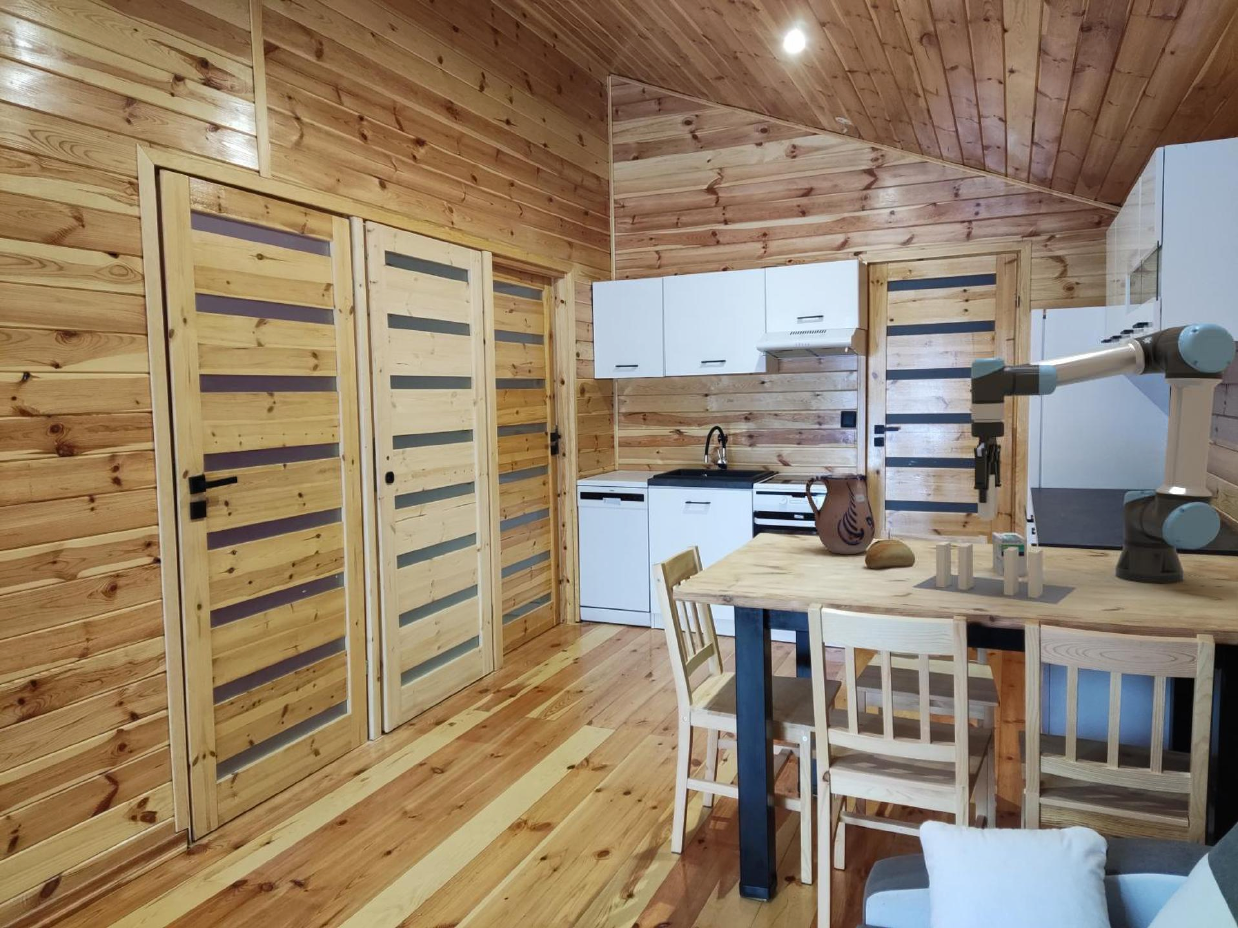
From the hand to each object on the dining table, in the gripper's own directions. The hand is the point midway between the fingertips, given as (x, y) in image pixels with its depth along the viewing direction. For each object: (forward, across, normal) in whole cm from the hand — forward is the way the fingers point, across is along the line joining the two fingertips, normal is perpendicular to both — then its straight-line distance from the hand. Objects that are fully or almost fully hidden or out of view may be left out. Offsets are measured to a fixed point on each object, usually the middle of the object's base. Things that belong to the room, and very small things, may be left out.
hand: (987, 514), depth 212 cm
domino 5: (+19, 0, +11) cm, 22 cm away
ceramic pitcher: (+20, -32, -55) cm, 67 cm away
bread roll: (+20, -18, -33) cm, 42 cm away
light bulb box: (+20, -25, -2) cm, 32 cm away
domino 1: (+19, 0, -11) cm, 22 cm away
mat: (+20, -4, 0) cm, 20 cm away
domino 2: (+19, 0, -5) cm, 20 cm away
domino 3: (+1, 0, 0) cm, 1 cm away
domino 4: (+19, 0, +6) cm, 20 cm away
